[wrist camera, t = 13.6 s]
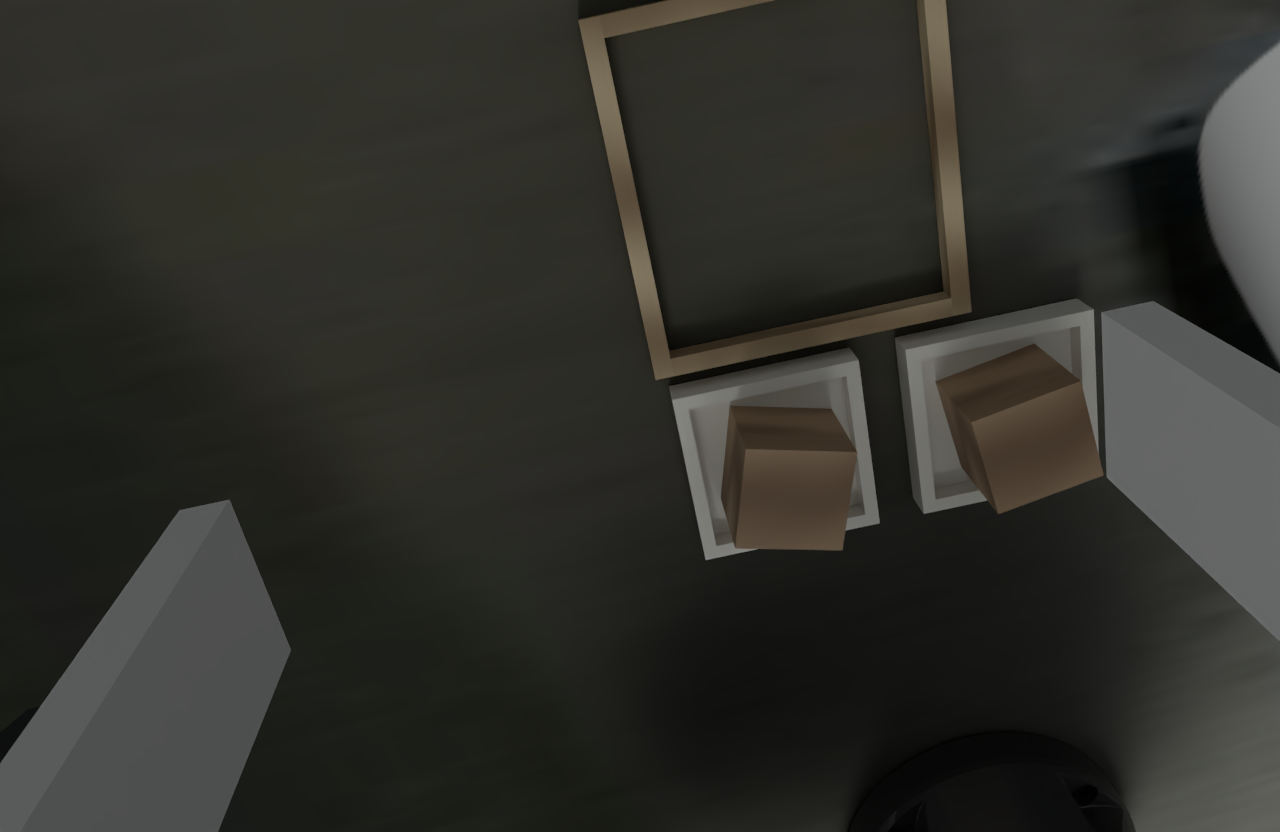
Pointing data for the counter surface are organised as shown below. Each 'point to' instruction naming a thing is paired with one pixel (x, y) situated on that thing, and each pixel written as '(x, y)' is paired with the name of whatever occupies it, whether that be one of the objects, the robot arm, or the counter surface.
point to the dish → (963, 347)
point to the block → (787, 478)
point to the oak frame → (955, 300)
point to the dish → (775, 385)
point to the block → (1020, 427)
